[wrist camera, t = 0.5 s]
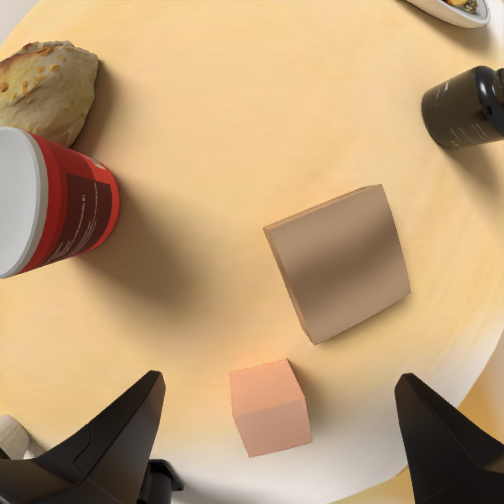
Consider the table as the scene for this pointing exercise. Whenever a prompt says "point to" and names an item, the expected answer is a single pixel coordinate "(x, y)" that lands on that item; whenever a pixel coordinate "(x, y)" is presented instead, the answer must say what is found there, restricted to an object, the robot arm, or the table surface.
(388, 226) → the walnut box
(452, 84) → the supplement bottle
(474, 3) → the bowl
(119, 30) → the table surface
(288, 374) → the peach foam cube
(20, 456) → the house plant
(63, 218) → the canned food
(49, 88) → the pastry
